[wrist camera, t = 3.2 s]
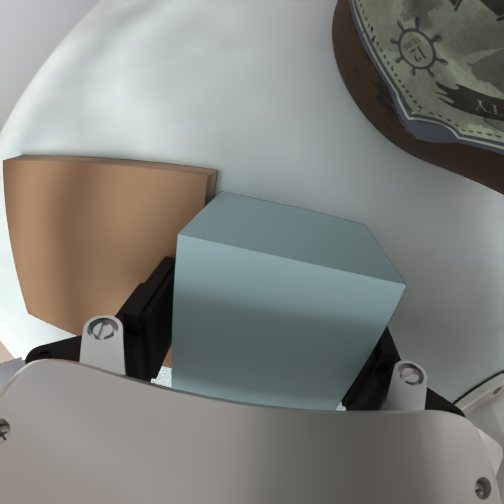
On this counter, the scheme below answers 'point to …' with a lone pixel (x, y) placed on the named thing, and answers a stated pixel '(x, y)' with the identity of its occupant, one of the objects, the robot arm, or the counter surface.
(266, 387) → the brick
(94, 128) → the counter surface
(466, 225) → the counter surface
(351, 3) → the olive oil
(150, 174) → the board
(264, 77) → the counter surface
